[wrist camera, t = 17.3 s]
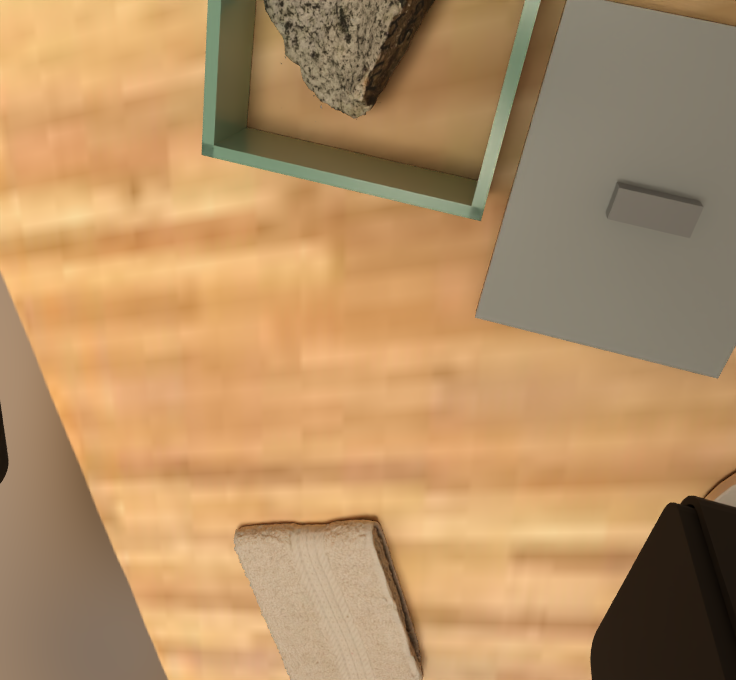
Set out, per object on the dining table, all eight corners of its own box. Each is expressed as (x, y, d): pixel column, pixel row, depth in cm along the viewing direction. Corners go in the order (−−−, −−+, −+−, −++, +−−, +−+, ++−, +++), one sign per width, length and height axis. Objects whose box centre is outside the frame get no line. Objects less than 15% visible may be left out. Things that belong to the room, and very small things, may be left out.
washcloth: (304, 670, 59) (293, 702, 57) (234, 517, 52) (218, 546, 49) (434, 672, 56) (429, 707, 53) (379, 508, 48) (370, 539, 45)
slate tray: (1202, -554, 20) (1258, -597, 18) (714, 370, 37) (722, 388, 36) (741, -605, 21) (757, -650, 20) (476, 311, 38) (473, 325, 37)
